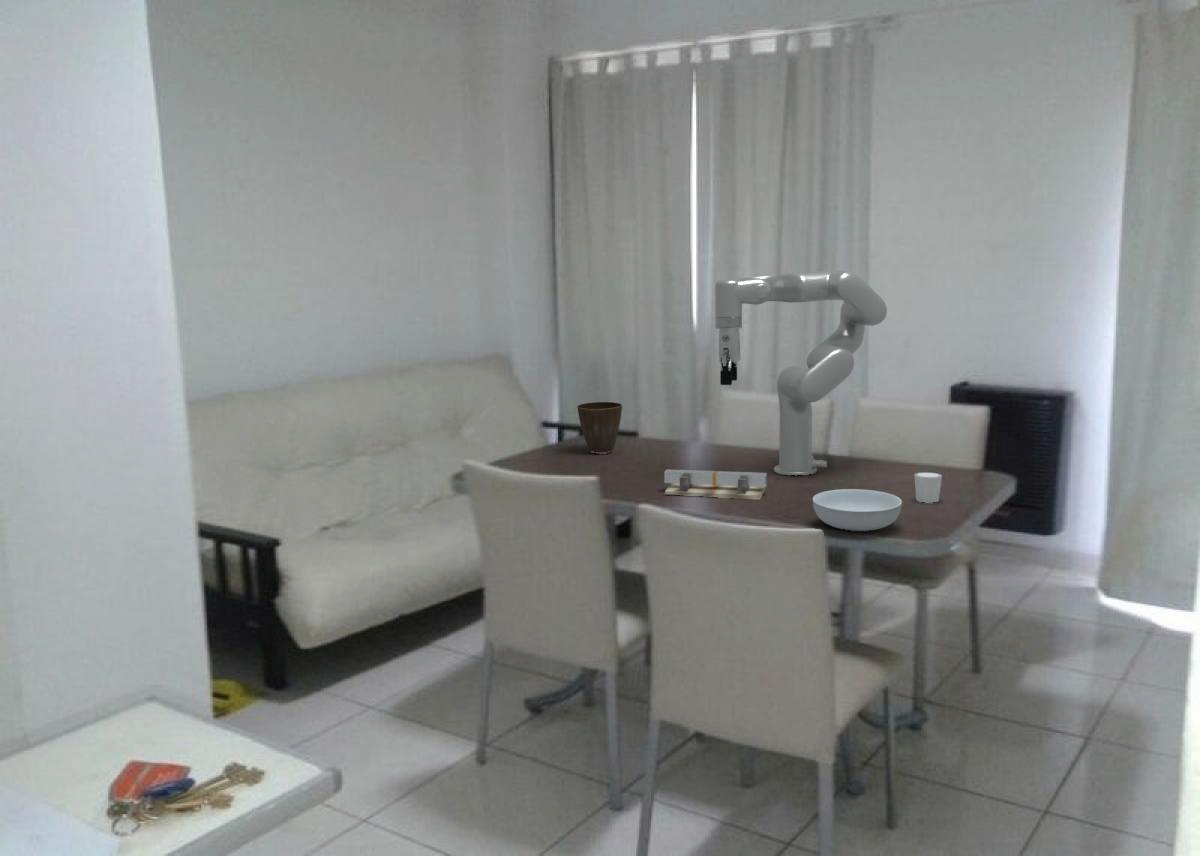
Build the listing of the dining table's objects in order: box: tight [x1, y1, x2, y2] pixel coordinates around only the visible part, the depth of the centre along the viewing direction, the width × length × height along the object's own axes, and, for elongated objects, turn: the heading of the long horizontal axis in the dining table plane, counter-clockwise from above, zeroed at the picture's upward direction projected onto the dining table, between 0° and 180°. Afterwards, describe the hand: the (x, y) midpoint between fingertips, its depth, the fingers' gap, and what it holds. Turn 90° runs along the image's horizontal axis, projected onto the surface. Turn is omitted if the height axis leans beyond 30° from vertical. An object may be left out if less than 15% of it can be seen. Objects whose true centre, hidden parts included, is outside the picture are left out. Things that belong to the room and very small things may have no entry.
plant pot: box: [576, 401, 623, 452], centre depth 343 cm, size 15×15×16 cm
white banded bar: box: [664, 469, 768, 488], centre depth 284 cm, size 28×3×3 cm, turn 74°
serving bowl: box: [812, 488, 903, 532], centre depth 247 cm, size 21×21×7 cm
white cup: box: [914, 471, 943, 504], centre depth 270 cm, size 7×7×7 cm
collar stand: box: [664, 475, 766, 501], centre depth 284 cm, size 26×12×5 cm, turn 74°
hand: (728, 382), depth 297 cm, fingers open, 9 cm apart
